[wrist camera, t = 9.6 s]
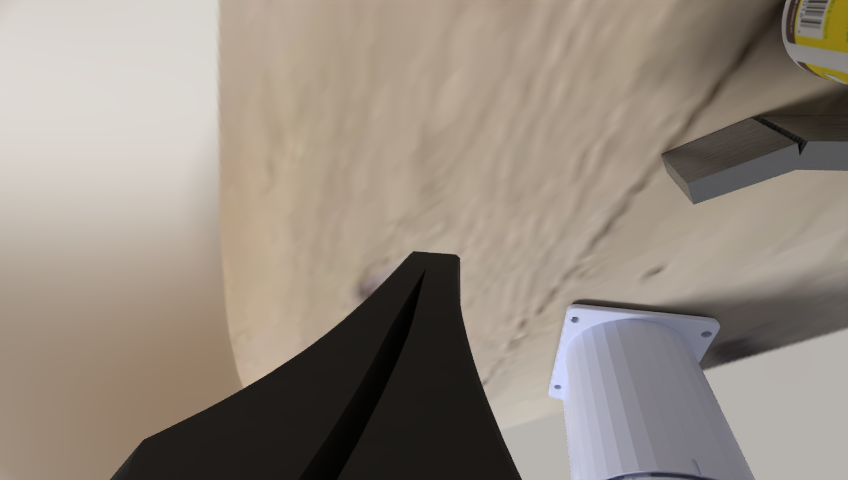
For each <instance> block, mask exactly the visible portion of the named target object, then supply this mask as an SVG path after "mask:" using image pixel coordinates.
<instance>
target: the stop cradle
mask: <svg viewBox="0 0 848 480" xmlns="http://www.w3.org/2000/svg"><path fill="white" fill-rule="evenodd" d="M661 155H662V158H663V161H664V164H665V167H666V170H667V173H668V174H669V175H670V176H671V178H672V179H673V180H674V181H675V183H676V184H677V185H678V186H679V187H680V189H681V190H682V191H683V192H684V194H685V195H686V196H687V197H688V198H689V200H690V201H691V202H692V203H693V204H697V203H700V202H703V201H706V200H708V199H711V198H714V197H717V196H720V195H723V194H726V193H729V192H732V191H735V190H738V189H741V188H744V187H747V186H750V185H752V184H755V183H758V182H761V181H764V180H767V179H770V178H773V177H776V176H779V175H782V174H785V173H788V172H791V171H794V170H842V171H848V115H838V116H759V117H758V119H757V121H756V120H754V119H752V118H749V119H746V120H744V121H741V122H739V123H736V124H734V125H732V126H729V127H727V128H724V129H722V130H719V131H717V132H715V133H712V134H710V135H707V136H705V137H702V138H700V139H698V140H695V141H693V142H690V143H688V144H686V145H683V146H681V147H678V148H676V149H673V150H671V151H669V152H666V153H664V154H661Z"/></svg>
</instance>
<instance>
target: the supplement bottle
mask: <svg viewBox="0 0 848 480" xmlns="http://www.w3.org/2000/svg"><path fill="white" fill-rule="evenodd" d="M782 38H783V42H784V46H785V48H786V50H787V53H788V54H789V56H790V57H791V58H792V60H793V61H794V62H795V63H796V64H797V65H798V66H799V67H801V68H802V69H804V70H805V71H807V72H809V73H811V74H813V75H816V76H819V77H822V78H825V79H828V80H832V81H835V82H839V83H843V84H847V85H848V0H786V3H785V7H784V11H783V17H782Z"/></svg>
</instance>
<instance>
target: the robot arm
mask: <svg viewBox="0 0 848 480" xmlns="http://www.w3.org/2000/svg"><path fill="white" fill-rule="evenodd" d="M572 317H577V318H572ZM719 329H720V325H719V323H718V321H717V320H716V319H714V318H709V317H699V316H689V315H680V314H670V313H660V312H650V311H640V310H630V309H620V308H611V307H601V306H591V305H581V304H573V305H570V306H569V307H568V308H567V312H566V316H565V320H564V325H563V329H562V333H561V338H560V342H559V346H558V351H557V355H556V359H555V364H554V368H553V372H552V377H551V381H550V385H549V396H550V397H552V398H555V399H561V400H563V404H564V413H565V422H566V431H567V440H568V450H569V458H570V468H571V477H572V480H755V478H754V476H753V474H752V472H751V470H750V468H749V466H748V464H747V462H746V460H745V458H744V456H743V453H742V451H741V449H740V447H739V445H738V443H737V441H736V439H735V437H734V435H733V433H732V431H731V429H730V427H729V425H728V422H727V420H726V418H725V417H724V414H723V412H722V410H721V408H720V406H719V404H718V402H717V400H716V398H715V396H714V394H713V392H712V390H711V388H710V385H709V383H708V381H707V379H706V377H705V375H704V373H703V371H702V369H701V367H700V365H699V363H700V361H701V359H702V358H703V356H704V354H705V353H706V351H707V349H708V348H709V346H710V344H711V343H712V341H713V339H714V338H715V336H716V334H717V333H718V331H719ZM705 331H706V332H705ZM110 480H522V479H521V477H520V475H519V473H518V471H517V468H516V466H515V464H514V462H513V460H512V457H511V455H510V453H509V451H508V448H507V446H506V444H505V442H504V439H503V437H502V435H501V432H500V430H499V427H498V425H497V422H496V420H495V417H494V415H493V412H492V410H491V407H490V405H489V403H488V400H487V398H486V395H485V392H484V389H483V386H482V384H481V381H480V378H479V375H478V372H477V369H476V366H475V363H474V360H473V356H472V353H471V350H470V346H469V342H468V338H467V334H466V330H465V326H464V322H463V317H462V312H461V306H460V258H459V257H458V256H457V255H454V254H441V253H429V252H416V251H413V252H412V253H411V254H410V255H409V256H408V257H407V258H406V259H405V260H404V261H403V262H402V264H401V265H400V266H399V267H398V268H397V269H396V270H395V271H394V272H393V273H392V274H391V275H390V276H389V277H388V278H387V279H386V280H385V281H384V282H383V283H382V284H381V285H380V286H379V287H378V288H377V289H376V290H375V291H374V292H373V293H372V294H371V295H370V296H369V297H368V298H367V299H366V300H365V301H364V302H363V303H362V304H361V305H360V306H358V307H357V308H356V309H355V310H354V311H353V312H352V313H351V314H349V315H348V316H347V317H346V318H345V319H344V320H343V321H341V322H340V323H339V324H338V325H337V326H335V327H334V328H333V329H332V330H331V331H329V332H328V333H327V334H325V335H324V336H323V337H322V338H320V339H319V340H318V341H316V342H315V343H314V344H312V345H311V346H310V347H308V348H307V349H305V350H304V351H302V352H301V353H300V354H298V355H297V356H295V357H294V358H292V359H290V360H289V361H287V362H286V363H284V364H283V365H281V366H280V367H278V368H277V369H275V370H274V371H272V372H271V373H269V374H268V375H266V376H264V377H263V378H261V379H259V380H258V381H256V382H254V383H252V384H251V385H249V386H247V387H246V388H244V389H242V390H240V391H239V392H237V393H235V394H233V395H231V396H230V397H228V398H226V399H224V400H223V401H221V402H219V403H217V404H215V405H213V406H211V407H209V408H208V409H206V410H204V411H202V412H200V413H198V414H196V415H194V416H191V417H190V418H187V419H186V420H183V421H181V422H179V423H177V424H175V425H173V426H171V427H169V428H167V429H165V430H163V431H161V432H159V433H157V434H155V435H153V436H151V437H148V438H146V439H144V440H143V441H142V442H141V443H140V445H139V446H138V447H137V448H136V449H135V450H134V452H133V453H132V454H131V455H130V456H129V457H128V459H127V460H126V461H125V463H124V464H123V465H122V466H121V467H120V468H119V469H118V471H117V472H116V473H115V474H114V475H113V477H112V478H111V479H110Z"/></svg>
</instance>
